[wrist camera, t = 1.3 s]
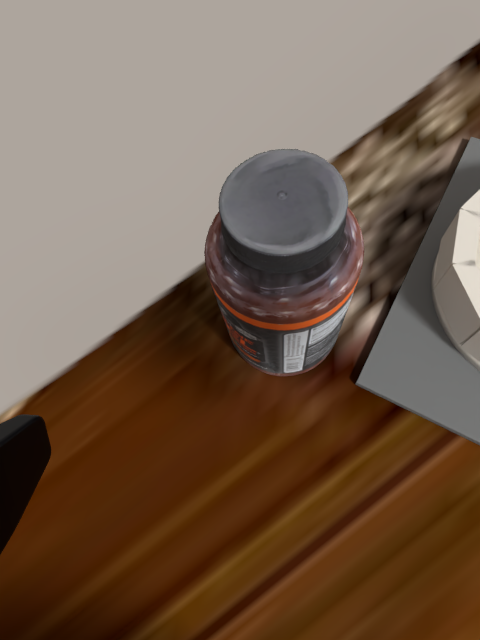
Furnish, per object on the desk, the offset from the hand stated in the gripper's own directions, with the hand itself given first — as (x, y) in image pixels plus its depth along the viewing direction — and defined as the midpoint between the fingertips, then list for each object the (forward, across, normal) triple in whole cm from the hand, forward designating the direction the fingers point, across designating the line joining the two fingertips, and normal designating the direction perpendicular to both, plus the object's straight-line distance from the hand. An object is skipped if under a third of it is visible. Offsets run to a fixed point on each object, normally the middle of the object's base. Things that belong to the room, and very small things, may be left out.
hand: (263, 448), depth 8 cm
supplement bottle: (+15, 0, +4) cm, 15 cm away
